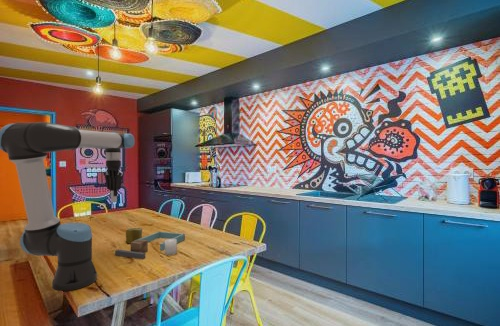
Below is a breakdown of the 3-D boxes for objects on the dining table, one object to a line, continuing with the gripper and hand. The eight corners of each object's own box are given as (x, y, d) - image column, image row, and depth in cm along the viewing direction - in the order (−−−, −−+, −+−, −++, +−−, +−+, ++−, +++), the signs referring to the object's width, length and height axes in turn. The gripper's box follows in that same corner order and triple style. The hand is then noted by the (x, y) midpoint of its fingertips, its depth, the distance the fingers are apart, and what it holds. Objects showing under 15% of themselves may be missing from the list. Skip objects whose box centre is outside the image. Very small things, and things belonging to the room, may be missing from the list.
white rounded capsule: (172, 255, 139) (171, 242, 139) (162, 254, 141) (162, 241, 141) (178, 252, 145) (178, 239, 145) (169, 250, 147) (169, 238, 147)
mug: (137, 241, 158) (134, 225, 160) (122, 246, 160) (120, 229, 162) (150, 240, 169) (147, 224, 172) (136, 244, 171) (134, 228, 174)
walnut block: (139, 255, 141) (139, 243, 141) (130, 253, 143) (130, 242, 143) (147, 251, 146) (147, 240, 146) (138, 250, 149) (138, 239, 149)
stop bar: (142, 259, 135) (142, 254, 135) (115, 255, 141) (115, 250, 141) (145, 257, 136) (145, 253, 136) (118, 253, 143) (118, 249, 143)
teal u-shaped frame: (161, 250, 147) (161, 244, 147) (134, 247, 154) (134, 240, 154) (184, 239, 168) (184, 233, 168) (159, 236, 175) (159, 231, 175)
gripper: (127, 159, 152) (128, 201, 153) (110, 160, 157) (110, 200, 157) (116, 159, 145) (117, 203, 146) (99, 160, 150) (99, 202, 150)
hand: (113, 201), depth 151 cm, fingers closed
